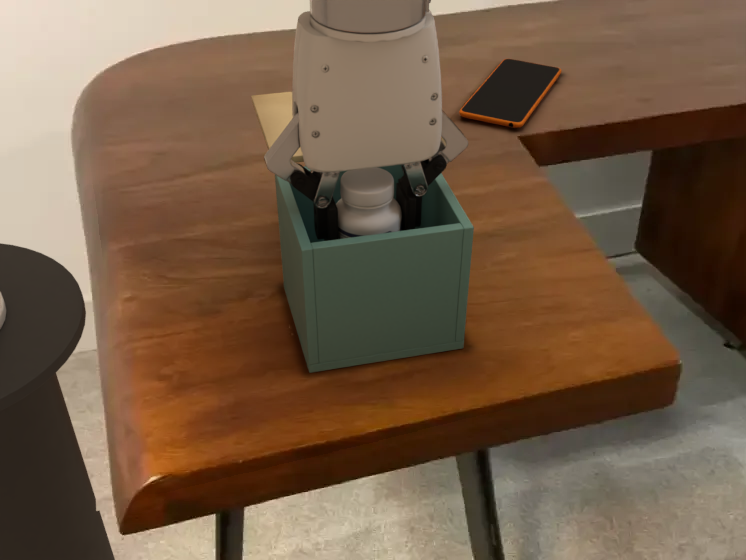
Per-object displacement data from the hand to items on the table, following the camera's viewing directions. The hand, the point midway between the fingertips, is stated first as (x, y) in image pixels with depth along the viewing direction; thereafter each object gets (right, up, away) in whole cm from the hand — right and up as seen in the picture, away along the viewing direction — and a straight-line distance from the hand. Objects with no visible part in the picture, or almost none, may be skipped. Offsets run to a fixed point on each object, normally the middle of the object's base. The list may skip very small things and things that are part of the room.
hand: (367, 237), depth 71 cm
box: (0, -6, +5) cm, 8 cm away
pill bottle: (0, -3, +3) cm, 4 cm away
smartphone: (+16, +23, +36) cm, 46 cm away
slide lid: (-3, +11, +6) cm, 13 cm away
